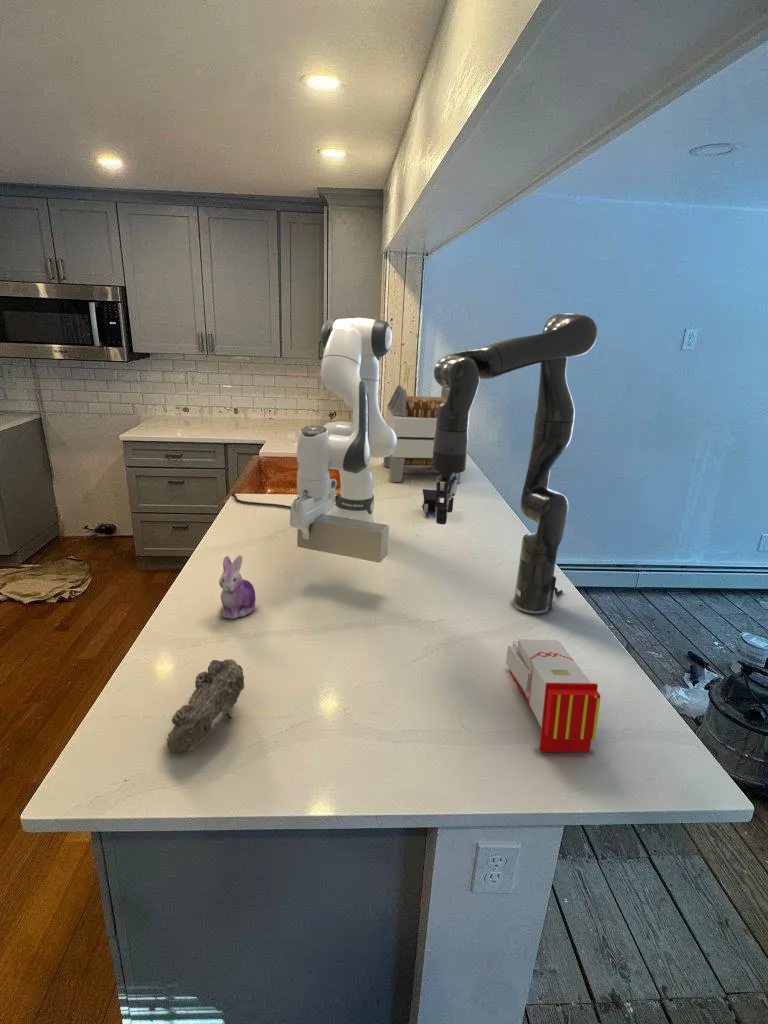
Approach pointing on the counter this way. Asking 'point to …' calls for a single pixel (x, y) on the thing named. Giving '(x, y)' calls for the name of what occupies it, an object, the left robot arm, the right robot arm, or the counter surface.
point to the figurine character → (429, 502)
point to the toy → (556, 694)
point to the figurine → (235, 590)
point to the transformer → (412, 430)
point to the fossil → (206, 705)
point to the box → (347, 538)
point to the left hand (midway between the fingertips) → (312, 533)
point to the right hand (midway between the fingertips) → (444, 517)
